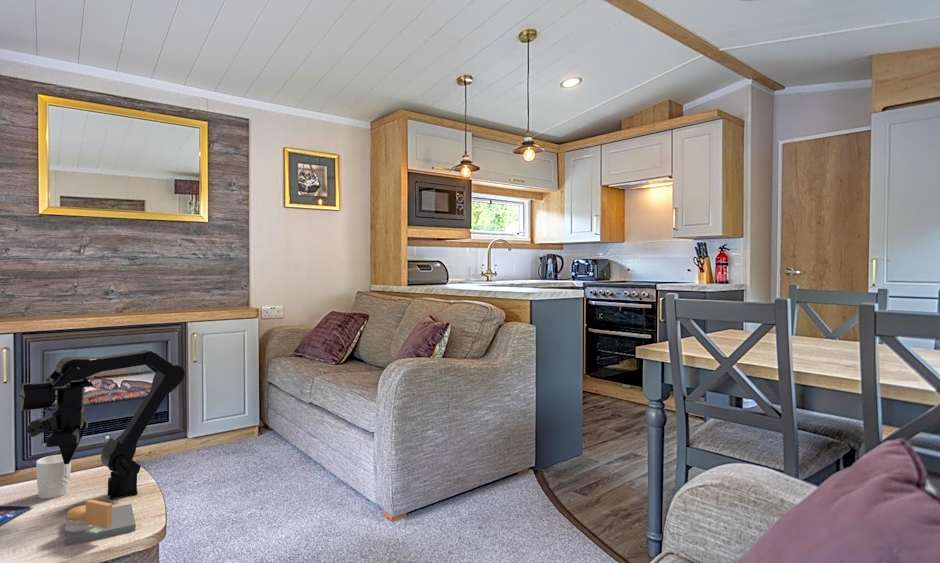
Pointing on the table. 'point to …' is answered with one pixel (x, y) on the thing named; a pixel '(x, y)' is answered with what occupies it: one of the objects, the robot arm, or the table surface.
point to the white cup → (52, 476)
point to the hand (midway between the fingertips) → (67, 463)
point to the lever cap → (93, 513)
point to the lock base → (85, 532)
